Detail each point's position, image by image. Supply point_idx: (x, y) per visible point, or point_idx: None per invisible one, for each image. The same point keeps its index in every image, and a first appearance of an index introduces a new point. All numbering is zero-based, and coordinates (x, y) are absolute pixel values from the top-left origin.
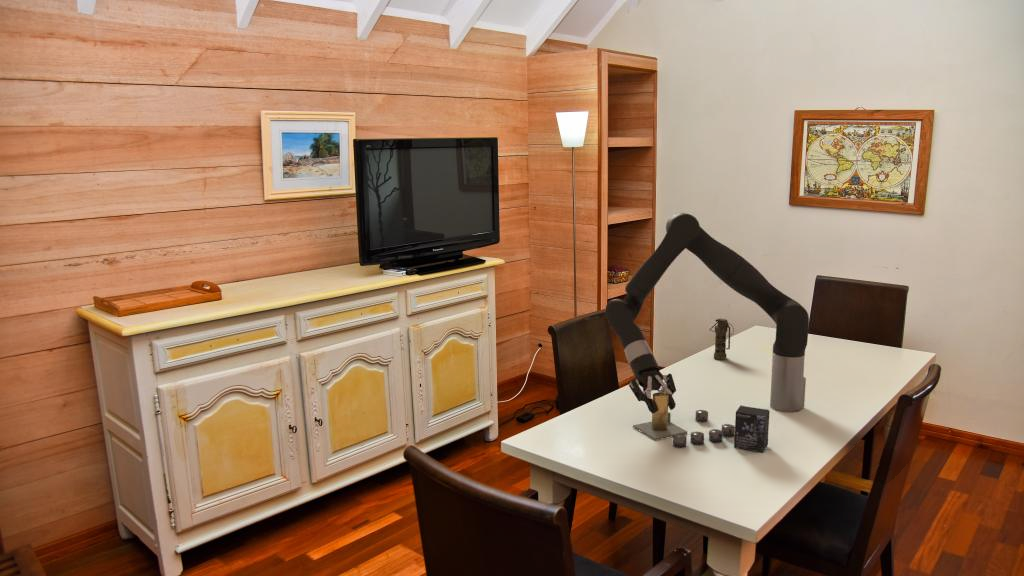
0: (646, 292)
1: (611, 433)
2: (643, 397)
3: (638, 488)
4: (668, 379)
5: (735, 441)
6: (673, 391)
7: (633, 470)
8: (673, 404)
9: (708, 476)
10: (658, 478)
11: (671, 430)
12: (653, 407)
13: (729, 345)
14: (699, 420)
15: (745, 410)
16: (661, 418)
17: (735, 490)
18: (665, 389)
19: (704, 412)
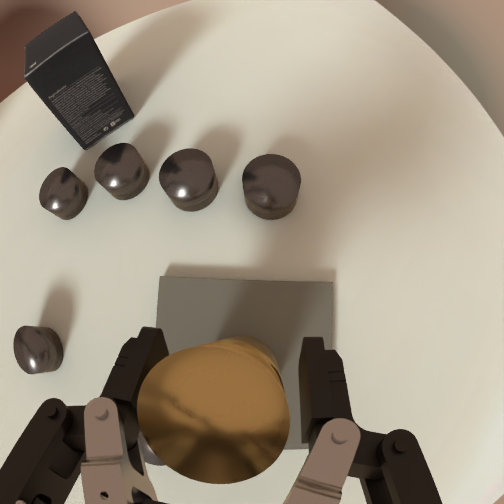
0: None
1: (427, 415)
2: (397, 429)
3: (469, 90)
4: (27, 502)
5: (126, 101)
6: (67, 407)
7: (469, 143)
8: (147, 336)
9: (318, 43)
10: (428, 88)
11: (210, 321)
12: (324, 355)
13: None
14: (57, 341)
15: (62, 36)
16: (254, 342)
17: (303, 9)
18: (117, 452)
19: (23, 340)
